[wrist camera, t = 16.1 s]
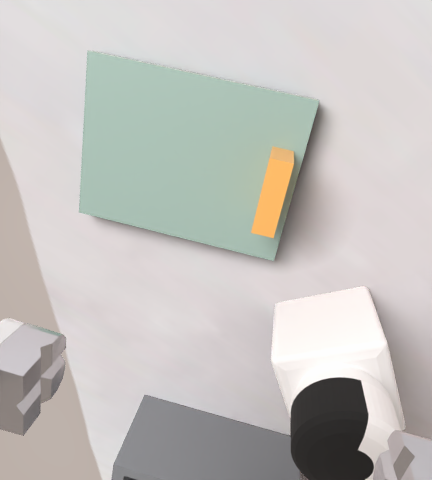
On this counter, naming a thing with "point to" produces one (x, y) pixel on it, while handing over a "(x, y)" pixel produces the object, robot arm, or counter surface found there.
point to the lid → (191, 153)
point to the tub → (200, 447)
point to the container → (335, 383)
